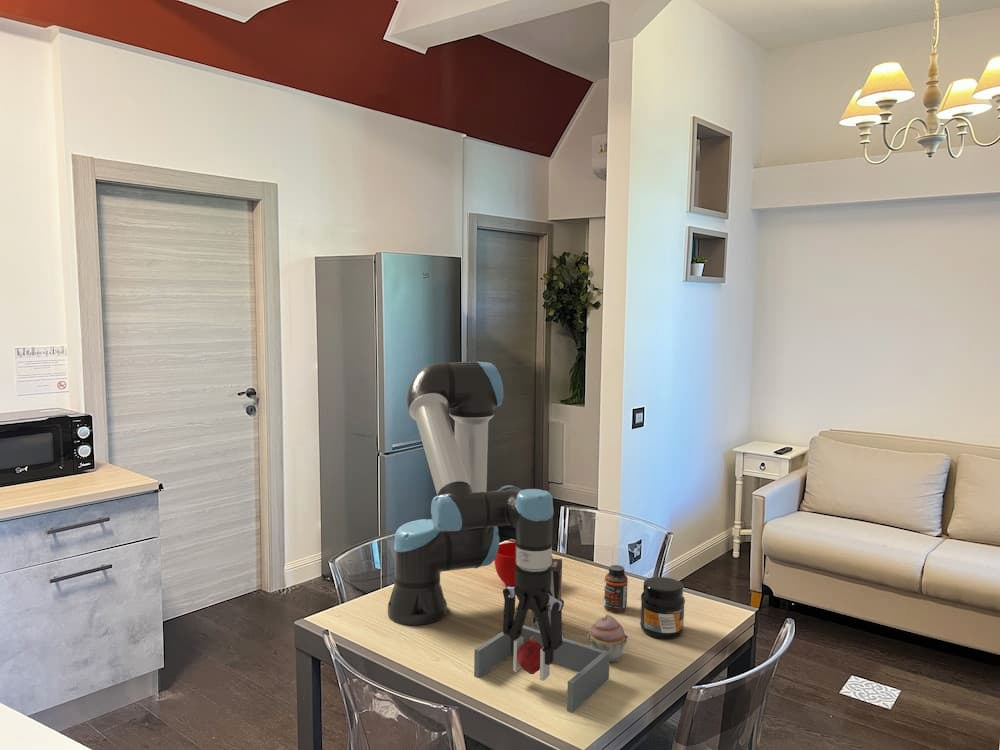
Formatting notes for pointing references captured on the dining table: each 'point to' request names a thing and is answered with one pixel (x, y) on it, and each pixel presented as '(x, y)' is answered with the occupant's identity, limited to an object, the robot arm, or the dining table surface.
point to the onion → (530, 656)
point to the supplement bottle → (615, 589)
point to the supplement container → (662, 607)
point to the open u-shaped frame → (568, 655)
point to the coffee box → (552, 588)
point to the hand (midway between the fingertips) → (531, 672)
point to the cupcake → (608, 637)
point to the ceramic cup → (506, 563)
